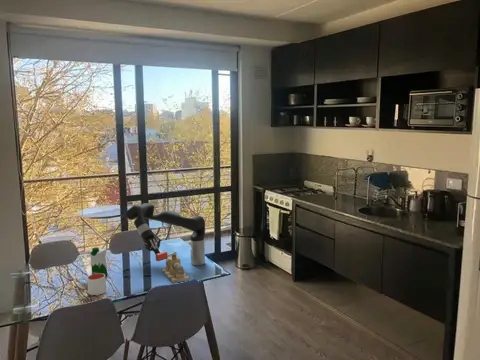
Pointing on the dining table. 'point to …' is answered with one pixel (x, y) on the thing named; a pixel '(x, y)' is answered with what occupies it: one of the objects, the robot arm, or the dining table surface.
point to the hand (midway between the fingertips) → (158, 254)
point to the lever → (164, 255)
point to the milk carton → (98, 261)
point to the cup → (96, 284)
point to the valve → (174, 270)
